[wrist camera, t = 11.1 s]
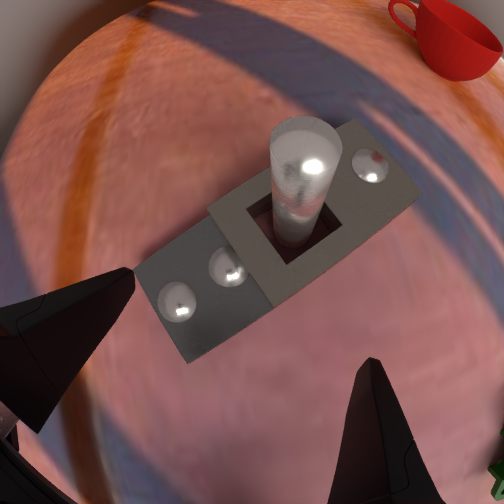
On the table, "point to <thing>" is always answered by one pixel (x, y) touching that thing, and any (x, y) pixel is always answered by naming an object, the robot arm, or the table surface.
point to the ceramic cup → (451, 39)
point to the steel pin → (301, 175)
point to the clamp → (498, 478)
